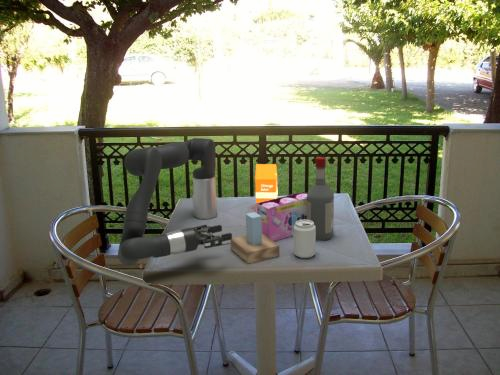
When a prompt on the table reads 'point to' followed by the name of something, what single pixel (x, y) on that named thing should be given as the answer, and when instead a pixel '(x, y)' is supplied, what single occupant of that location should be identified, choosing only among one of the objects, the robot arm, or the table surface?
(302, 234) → the can
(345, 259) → the table surface
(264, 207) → the gum box
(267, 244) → the wooden slab
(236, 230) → the mat
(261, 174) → the orange juice
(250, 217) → the block
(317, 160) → the liquor
